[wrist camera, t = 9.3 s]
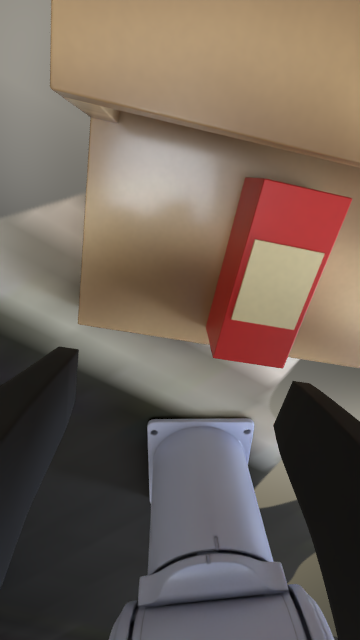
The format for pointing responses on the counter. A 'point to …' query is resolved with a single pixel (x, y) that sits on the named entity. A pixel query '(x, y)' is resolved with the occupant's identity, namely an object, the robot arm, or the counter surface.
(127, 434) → the counter surface
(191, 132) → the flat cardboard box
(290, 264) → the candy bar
